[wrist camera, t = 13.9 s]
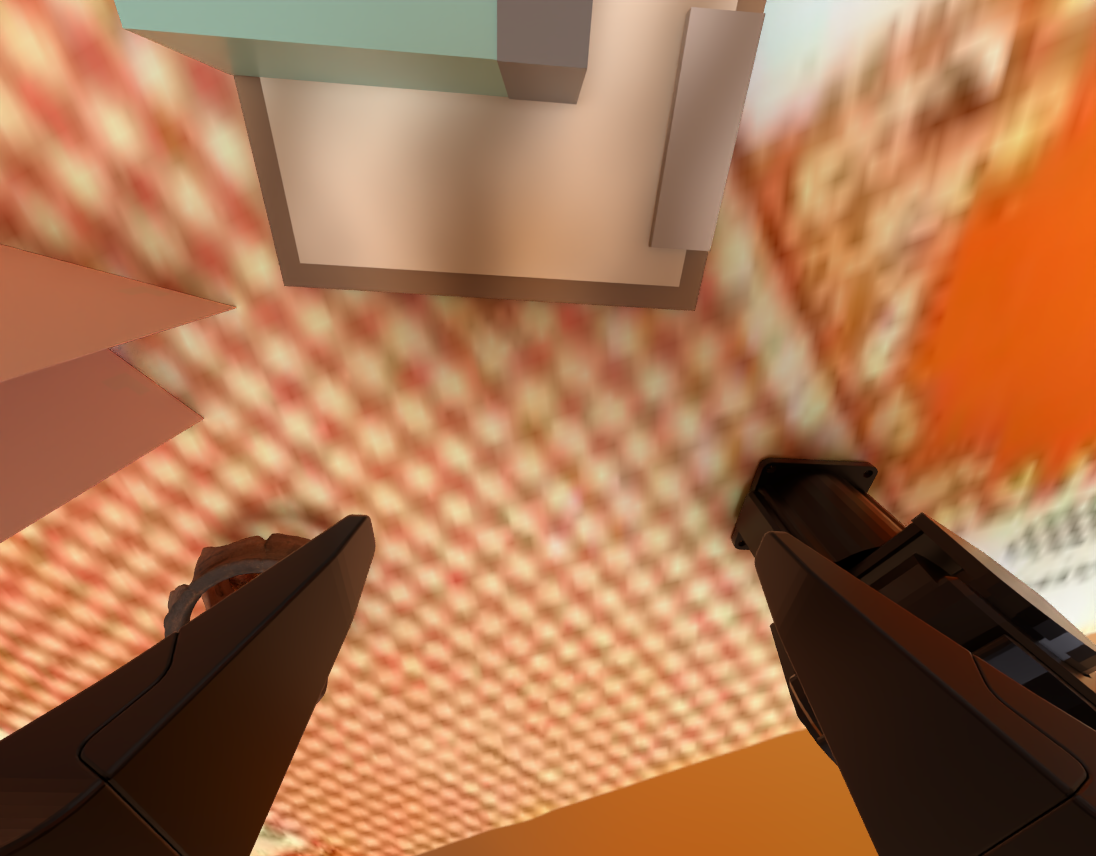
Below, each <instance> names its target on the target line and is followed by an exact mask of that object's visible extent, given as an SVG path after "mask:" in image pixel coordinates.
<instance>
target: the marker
mask: <svg viewBox="0 0 1096 856" xmlns="http://www.w3.org/2000/svg"><path fill="white" fill-rule="evenodd" d="M114 2H115V5H116V8H117V11H118V14H119V17H120V20H121V23H122V27H123V28H124V29H126V30H128V31H131V32H133V33H135V34H138V35H140V36H142V37H144V38H147V39H149V40H151V41H154V42H156V43H158V44H161V45H163V46H165V47H168V48H170V49H172V50H175V51H177V52H179V53H181V54H184V55H186V56H188V57H191V58H193V59H195V60H198V61H200V62H202V63H205V64H207V65H209V66H211V67H214V68H216V69H218V70H221V71H223V72H225V73H228V74H230V75H241V76H254V77H266V78H278V79H291V80H303V81H316V82H328V83H340V84H353V85H365V86H378V87H390V88H402V89H415V90H427V91H439V92H452V93H464V94H477V95H489V96H501V97H509V99H516V100H529V101H541V102H554V103H566V104H577V101H578V97H579V94H580V91H581V88H582V84H583V81H584V78H585V74H586V71H587V65H588V53H589V41H590V29H591V17H592V5H593V0H114Z"/></svg>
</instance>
